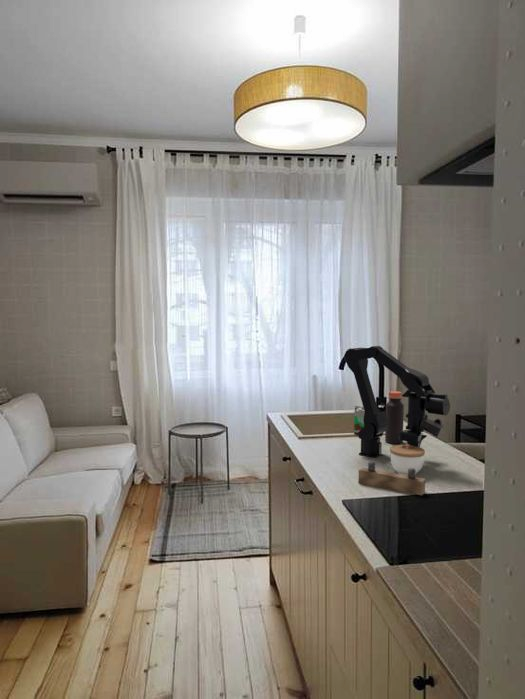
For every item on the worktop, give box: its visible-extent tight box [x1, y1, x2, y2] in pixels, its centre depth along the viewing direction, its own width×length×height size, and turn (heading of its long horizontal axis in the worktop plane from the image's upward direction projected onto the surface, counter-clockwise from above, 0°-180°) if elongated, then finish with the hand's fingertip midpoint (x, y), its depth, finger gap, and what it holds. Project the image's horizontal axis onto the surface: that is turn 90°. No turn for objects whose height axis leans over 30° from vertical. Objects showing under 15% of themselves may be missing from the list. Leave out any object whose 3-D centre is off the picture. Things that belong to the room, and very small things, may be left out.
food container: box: [353, 405, 364, 435], centre depth 215 cm, size 12×6×10 cm, turn 168°
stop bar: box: [357, 461, 426, 496], centre depth 148 cm, size 19×3×6 cm, turn 58°
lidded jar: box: [389, 443, 426, 476], centre depth 161 cm, size 11×11×9 cm
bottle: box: [384, 390, 405, 445], centre depth 198 cm, size 7×7×20 cm
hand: (415, 456), depth 170 cm, fingers closed
